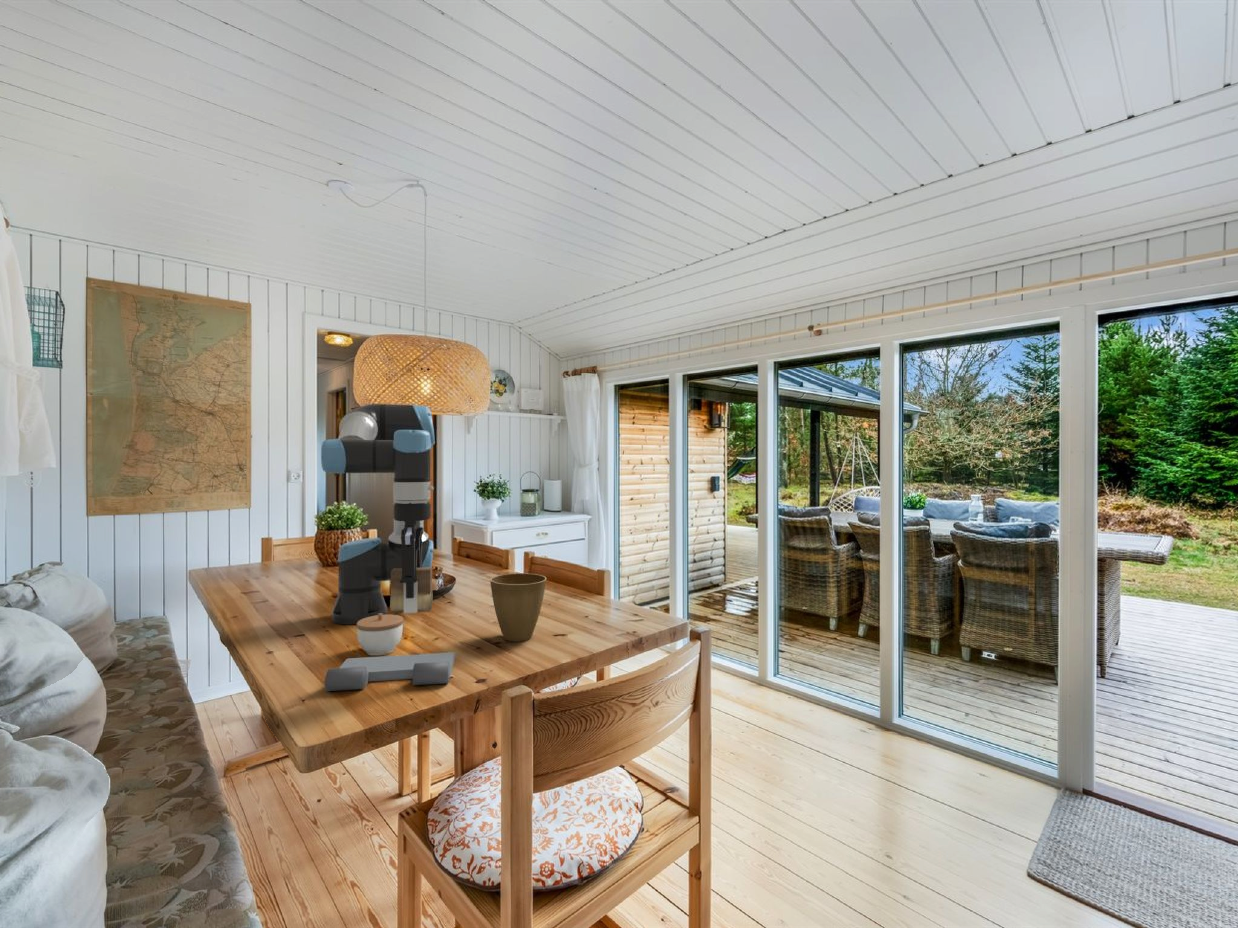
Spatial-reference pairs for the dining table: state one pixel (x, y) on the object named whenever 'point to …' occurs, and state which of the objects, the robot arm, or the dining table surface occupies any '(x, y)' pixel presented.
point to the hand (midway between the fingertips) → (412, 609)
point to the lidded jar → (379, 633)
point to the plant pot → (517, 603)
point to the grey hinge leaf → (391, 670)
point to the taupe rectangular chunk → (423, 590)
